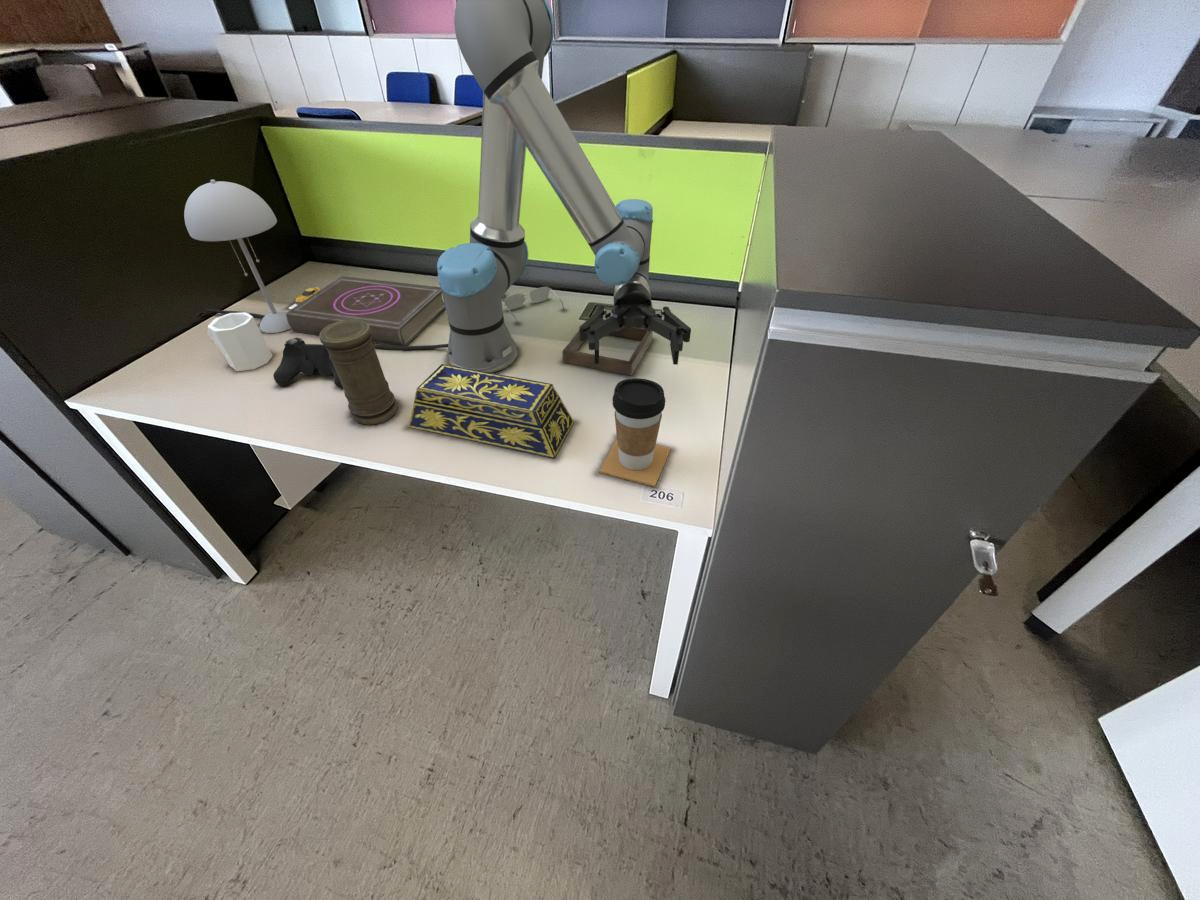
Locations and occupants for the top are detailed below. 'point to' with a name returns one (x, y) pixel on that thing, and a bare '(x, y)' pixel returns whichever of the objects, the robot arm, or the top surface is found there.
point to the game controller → (304, 362)
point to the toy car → (305, 296)
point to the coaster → (641, 476)
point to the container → (359, 371)
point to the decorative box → (492, 410)
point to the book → (370, 308)
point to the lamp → (233, 228)
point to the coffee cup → (637, 420)
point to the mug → (239, 341)
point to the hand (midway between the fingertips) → (636, 357)
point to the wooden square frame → (606, 362)
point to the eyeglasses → (518, 299)
